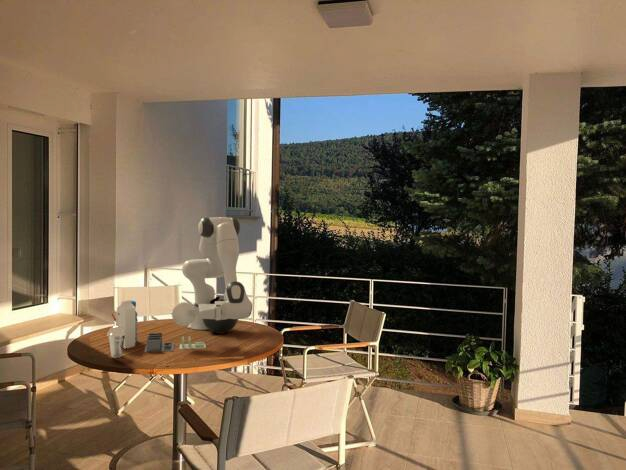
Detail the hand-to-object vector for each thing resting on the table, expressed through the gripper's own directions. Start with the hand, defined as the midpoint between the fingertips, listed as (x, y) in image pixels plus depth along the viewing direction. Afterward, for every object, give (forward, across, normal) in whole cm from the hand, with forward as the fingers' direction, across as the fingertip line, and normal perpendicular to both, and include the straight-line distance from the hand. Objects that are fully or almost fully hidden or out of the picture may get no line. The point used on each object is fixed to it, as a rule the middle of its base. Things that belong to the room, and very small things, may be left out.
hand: (188, 311), depth 250 cm
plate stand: (-2, 0, +18) cm, 18 cm away
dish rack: (+13, 0, +18) cm, 22 cm away
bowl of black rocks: (-17, -33, +18) cm, 41 cm away
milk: (+29, -8, +18) cm, 35 cm away
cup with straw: (+31, +10, +18) cm, 37 cm away
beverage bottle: (+29, -19, +18) cm, 39 cm away
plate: (+2, 0, +7) cm, 7 cm away
